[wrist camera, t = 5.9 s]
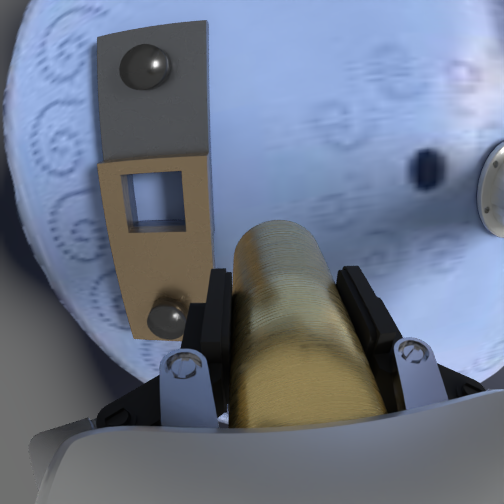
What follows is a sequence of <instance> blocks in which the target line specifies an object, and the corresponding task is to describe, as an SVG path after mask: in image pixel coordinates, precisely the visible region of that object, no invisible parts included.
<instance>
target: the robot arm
mask: <svg viewBox="0 0 504 504" xmlns="http://www.w3.org/2000/svg"><path fill="white" fill-rule="evenodd" d="M477 204H478V211H479V215H480V218H481V220H482V223H483V224H484V226H485V227H486V228H487V229H488V230H489V231H490V232H491V233H492V234H494V235H496V236H497V237H501V238H504V142H502V143H501V144H499V145H498V146H497V147H496V148H495V149H494V150H493V151H492V152H491V154H490V155H489V157H488V158H487V160H486V162H485V164H484V167H483V169H482V172H481V175H480V178H479V184H478V191H477ZM336 286H337V289H338V291H339V293H340V296H341V298H342V300H343V302H344V305H345V307H346V309H347V312H348V314H349V316H350V319H351V321H352V324H353V326H354V328H355V331H356V333H357V336H358V338H359V340H360V343H361V345H362V348H363V350H364V353H365V355H366V358H367V360H368V363H369V365H370V368H371V370H372V373H373V375H374V378H375V381H376V383H377V386H378V388H379V391H380V394H381V396H382V399H383V402H384V404H385V407H386V410H387V413H388V414H383V415H378V416H372V417H366V418H359V419H352V420H345V421H337V422H329V423H320V424H310V425H298V426H284V427H266V428H219V425H218V420H217V418H218V417H219V416H221V415H222V414H223V413H227V404H229V383H230V359H231V325H232V273H231V272H226V268H223V269H211V272H210V278H209V285H208V292H207V298H206V303H190V306H189V310H188V315H187V319H186V324H185V329H184V334H183V339H182V344H181V349H178V350H174V351H172V352H170V353H168V354H167V355H166V356H164V357H163V359H162V360H161V362H160V367H159V371H160V375H158V376H157V377H155V378H153V379H152V380H150V381H148V382H146V383H145V384H143V385H141V386H140V387H138V388H136V389H135V390H133V391H131V392H129V393H128V394H126V395H124V396H123V397H121V398H119V399H117V400H115V401H114V402H112V403H110V404H108V405H107V406H105V407H104V408H103V409H102V410H101V411H100V412H99V413H98V416H97V418H95V419H92V420H90V419H89V418H88V417H87V418H84V419H81V420H78V421H75V422H72V423H69V424H65V425H62V426H59V427H56V428H53V429H50V430H46V431H43V432H40V433H38V434H36V435H35V436H34V437H33V438H32V439H31V441H30V443H29V455H30V460H31V465H32V469H33V473H34V477H35V481H36V485H37V489H38V496H37V499H36V502H35V504H504V389H500V390H492V389H488V390H487V391H486V390H485V389H484V388H483V386H482V385H481V384H480V383H479V382H477V381H475V380H474V379H471V378H469V377H467V376H464V375H462V374H460V373H458V372H455V371H453V370H451V369H449V368H446V367H444V366H442V365H440V364H438V363H437V362H436V359H435V356H434V353H433V351H432V349H431V347H430V346H429V345H428V344H427V343H426V342H424V341H422V340H420V339H417V338H412V337H407V338H403V337H402V335H401V333H400V331H399V330H398V328H397V326H396V324H395V322H394V321H393V319H392V317H391V315H390V314H389V312H388V310H387V308H386V307H385V305H384V303H383V301H382V300H381V299H380V298H378V297H377V296H376V295H375V293H374V291H373V289H372V288H371V286H370V284H369V283H368V281H367V279H366V278H365V276H364V274H363V273H362V271H361V269H360V268H359V266H344V267H343V269H342V270H339V271H338V275H337V282H336Z"/></svg>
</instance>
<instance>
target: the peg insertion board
mask: <svg viewBox="0 0 504 504" xmlns="http://www.w3.org/2000/svg"><path fill="white" fill-rule="evenodd" d="M97 74H98V99H99V115H100V128H101V139H102V149H103V159H104V161H102V162H100V163H98V164H97V167H98V175H99V182H100V189H101V196H102V202H103V208H104V214H105V220H106V225H107V231H108V236H109V241H110V246H111V251H112V255H113V260H114V265H115V269H116V273H117V278H118V282H119V286H120V290H121V294H122V298H123V302H124V306H125V310H126V313H127V317H128V321H129V324H130V328H131V331H132V334H133V338H134V339H145V340H165V341H182V339H183V334H184V329H185V324H186V319H187V315H188V310H189V306H190V303H206V298H207V292H208V285H209V278H210V272H211V269H215V259H214V244H213V235H214V212H213V191H212V168H211V142H210V107H209V24H208V22H207V20H202V21H191V22H181V23H172V24H164V25H157V26H150V27H144V28H138V29H133V30H127V31H122V32H118V33H113V34H108V35H104V36H100V37H97ZM168 171H182V185H183V198H184V210H185V220H151V221H138V217H137V209H136V202H135V194H134V186H133V177H132V174H137V173H152V172H168Z"/></svg>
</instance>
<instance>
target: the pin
mask: <svg viewBox="0 0 504 504" xmlns="http://www.w3.org/2000/svg"><path fill="white" fill-rule="evenodd" d="M383 414H388V413H387V410H386V407H385V404H384V402H383V399H382V396H381V394H380V391H379V388H378V386H377V383H376V381H375V378H374V375H373V373H372V370H371V368H370V365H369V363H368V360H367V358H366V355H365V353H364V350H363V348H362V345H361V343H360V340H359V338H358V336H357V333H356V331H355V328H354V326H353V324H352V321H351V319H350V316H349V314H348V312H347V309H346V307H345V305H344V302H343V300H342V298H341V296H340V293H339V291H338V289H337V286H336V284H335V282H334V280H333V277H332V275H331V273H330V271H329V269H328V266H327V264H326V262H325V260H324V258H323V255H322V253H321V251H320V249H319V247H318V245H317V242H316V240H315V239H314V237H313V236H312V235H311V233H310V232H309V231H308V230H306V229H305V228H304V227H302V226H301V225H299V224H296V223H294V222H291V221H285V220H272V221H267V222H264V223H261V224H259V225H256V226H255V227H253V228H251V229H250V230H249V231H248V232H246V233H245V234H244V235H243V237H242V238H241V239H240V241H239V242H238V244H237V246H236V249H235V253H234V264H233V289H232V325H231V359H230V383H229V427H228V428H266V427H284V426H298V425H310V424H320V423H329V422H337V421H345V420H352V419H359V418H366V417H372V416H378V415H383Z"/></svg>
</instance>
